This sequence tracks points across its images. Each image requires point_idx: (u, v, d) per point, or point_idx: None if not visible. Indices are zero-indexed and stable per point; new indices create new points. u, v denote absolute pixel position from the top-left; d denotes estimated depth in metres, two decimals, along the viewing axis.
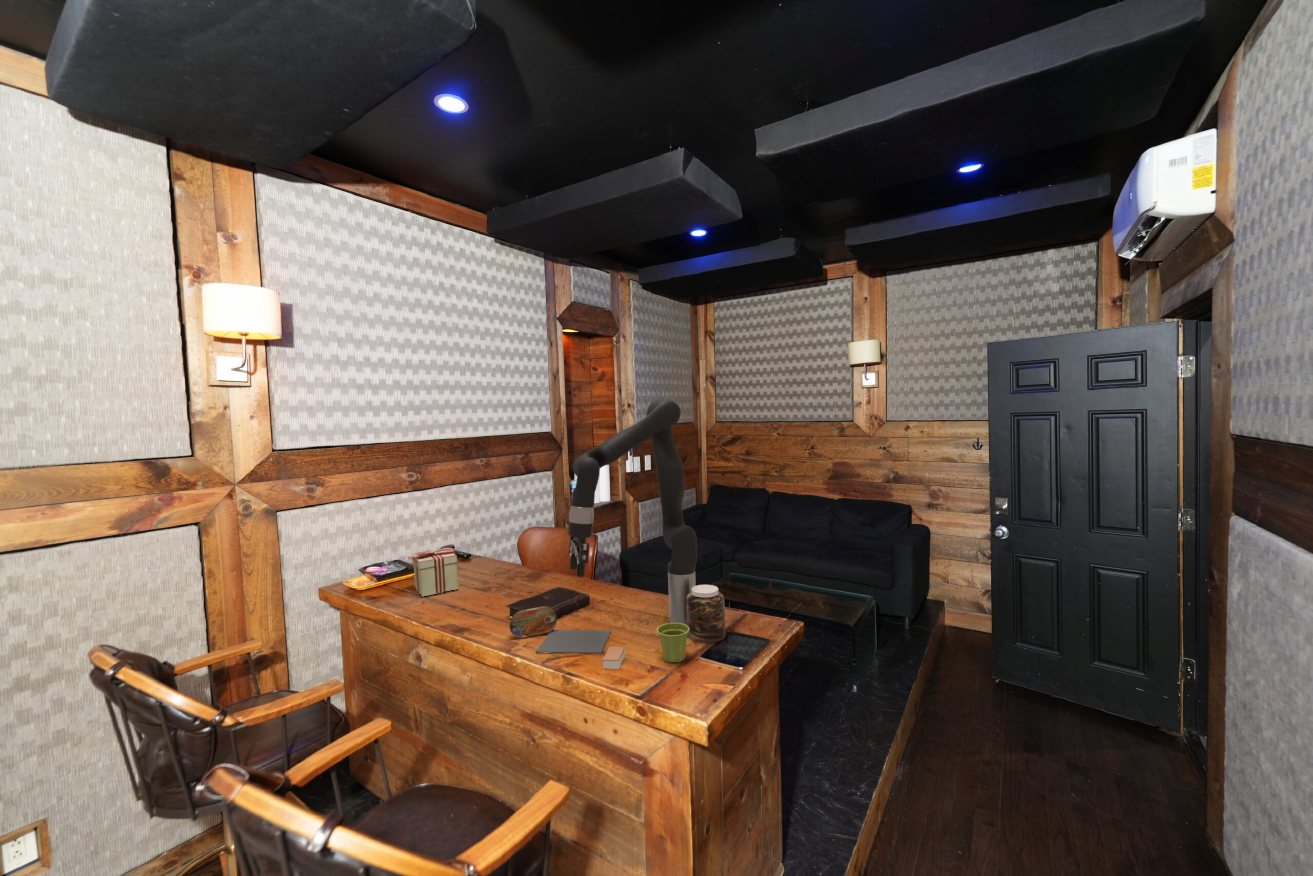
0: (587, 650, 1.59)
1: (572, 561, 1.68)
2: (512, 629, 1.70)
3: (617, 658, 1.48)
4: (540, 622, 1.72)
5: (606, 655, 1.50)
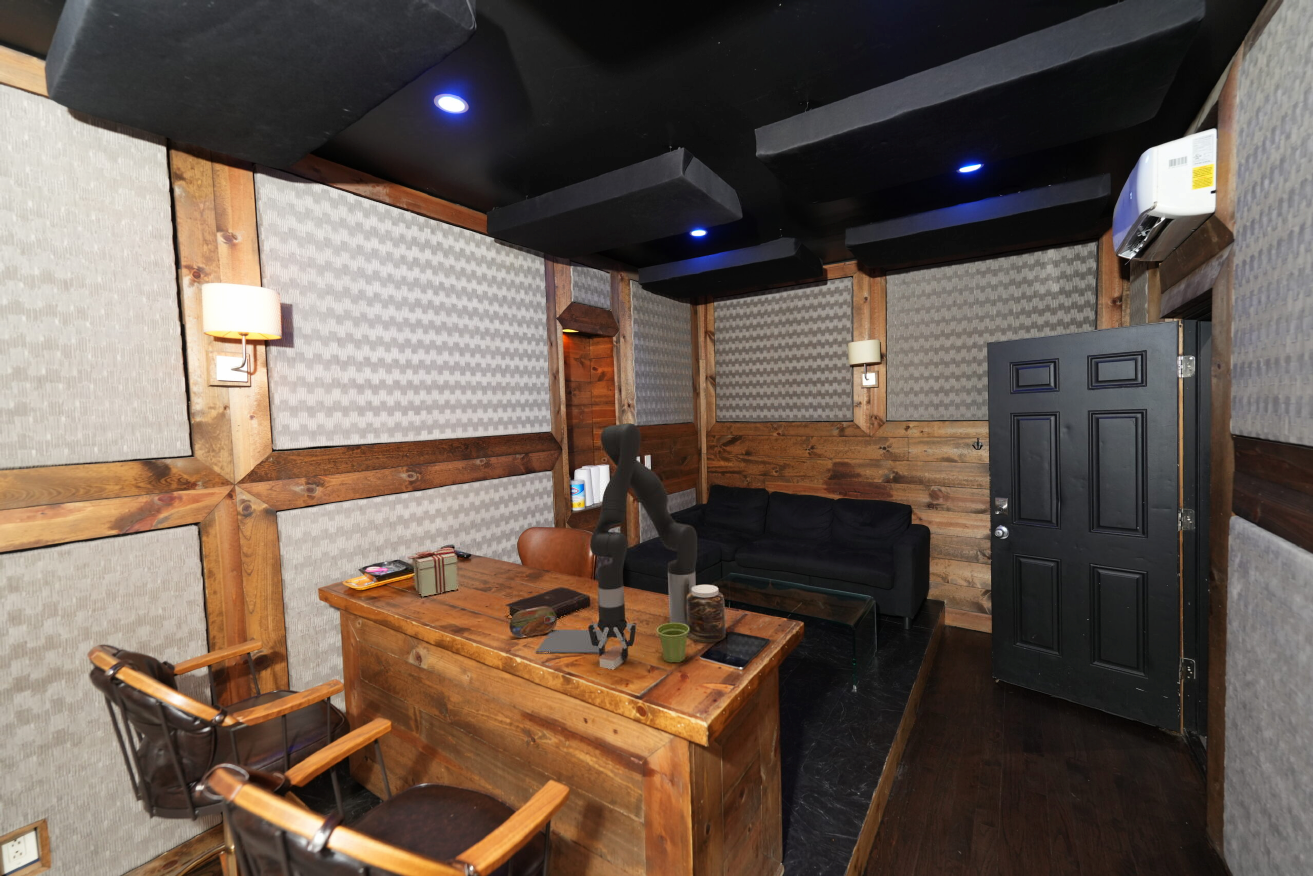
0: (587, 650, 1.59)
1: (603, 651, 1.51)
2: (512, 629, 1.70)
3: (613, 657, 1.48)
4: (540, 622, 1.72)
5: (606, 653, 1.51)
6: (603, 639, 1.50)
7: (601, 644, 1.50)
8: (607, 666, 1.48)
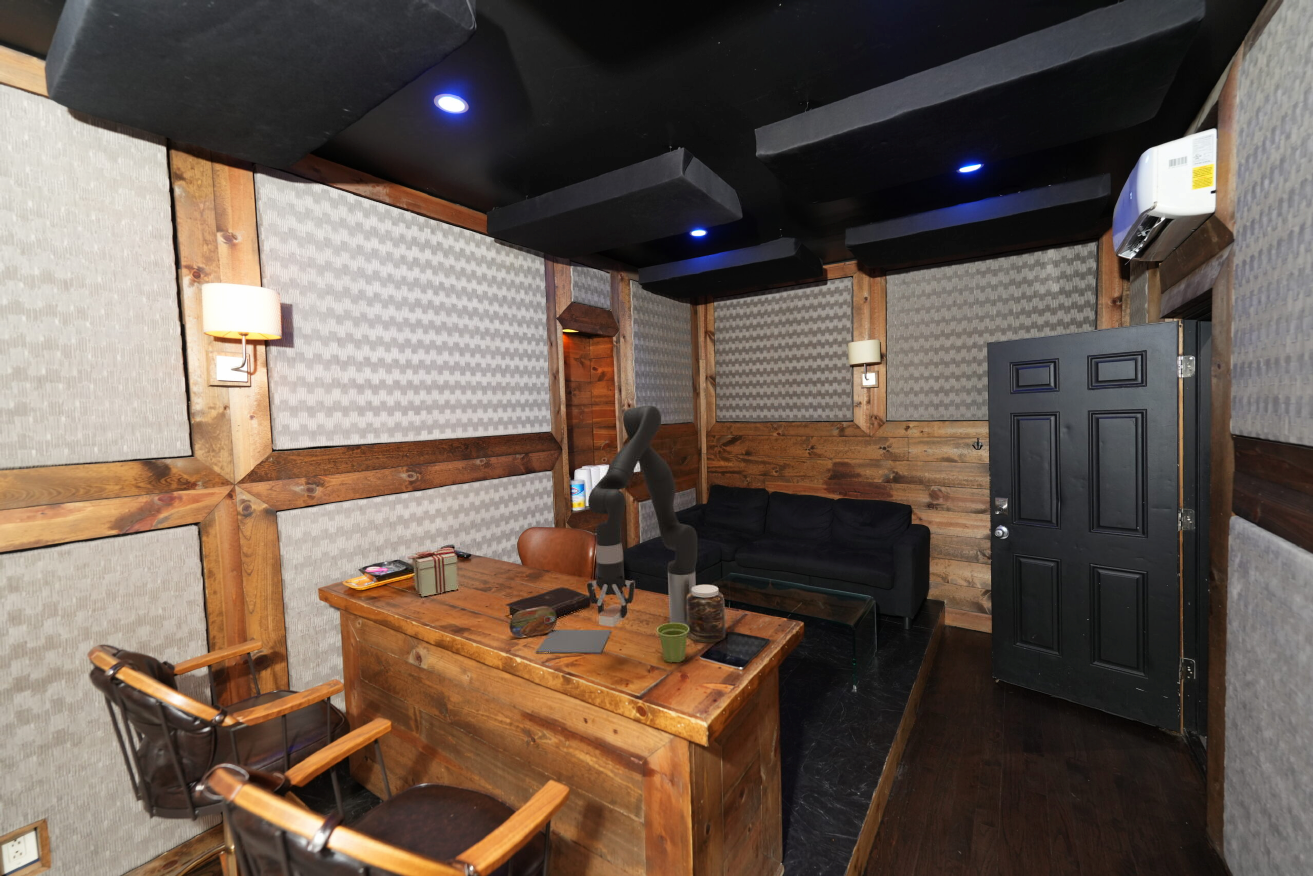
0: (587, 650, 1.59)
1: (602, 609, 1.51)
2: (512, 629, 1.70)
3: (612, 614, 1.47)
4: (540, 622, 1.72)
5: (605, 610, 1.50)
6: (602, 596, 1.49)
7: (600, 601, 1.50)
8: (606, 623, 1.47)
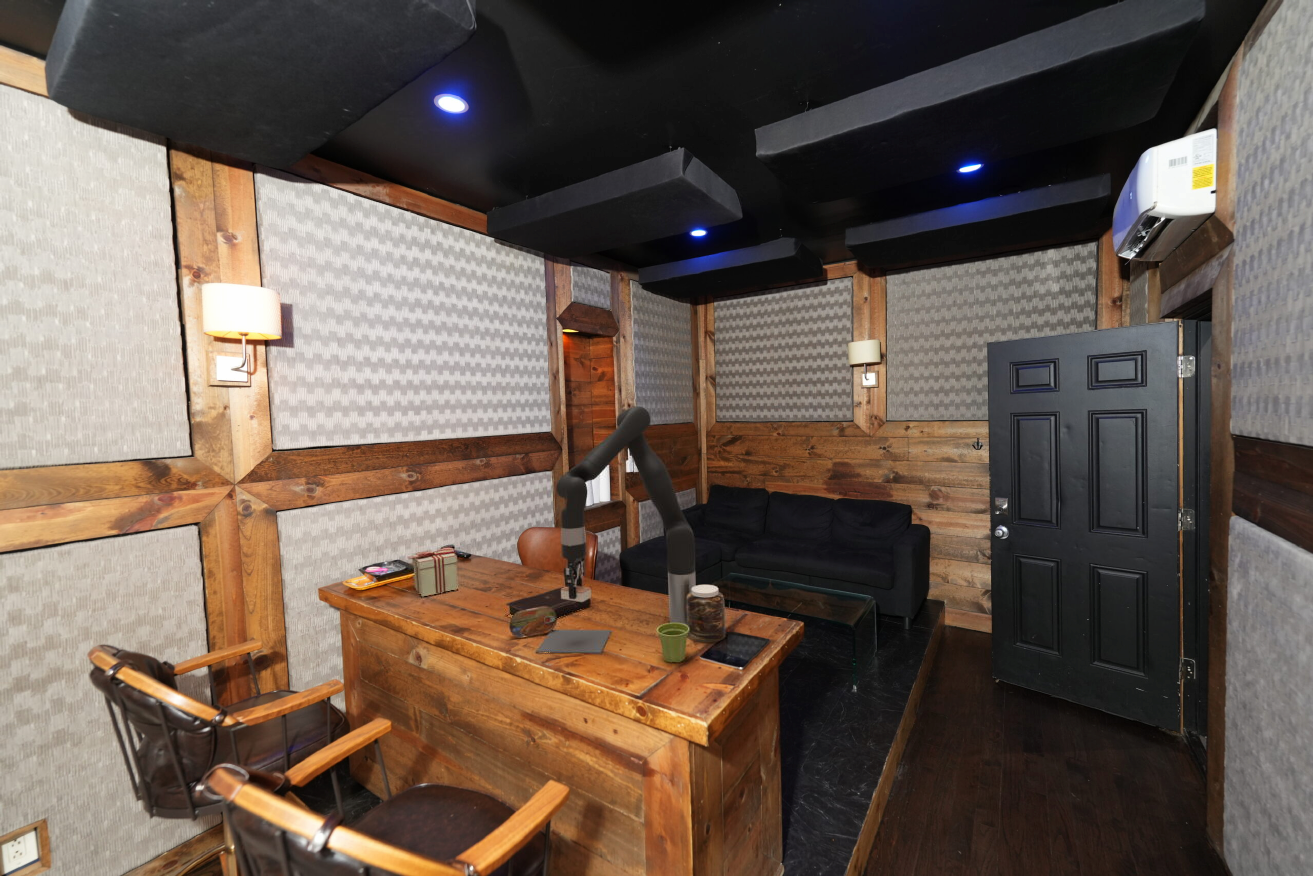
0: (587, 650, 1.59)
1: None
2: (512, 629, 1.70)
3: (586, 587, 1.64)
4: (540, 622, 1.72)
5: None
6: (577, 576, 1.61)
7: (575, 582, 1.60)
8: (587, 597, 1.62)
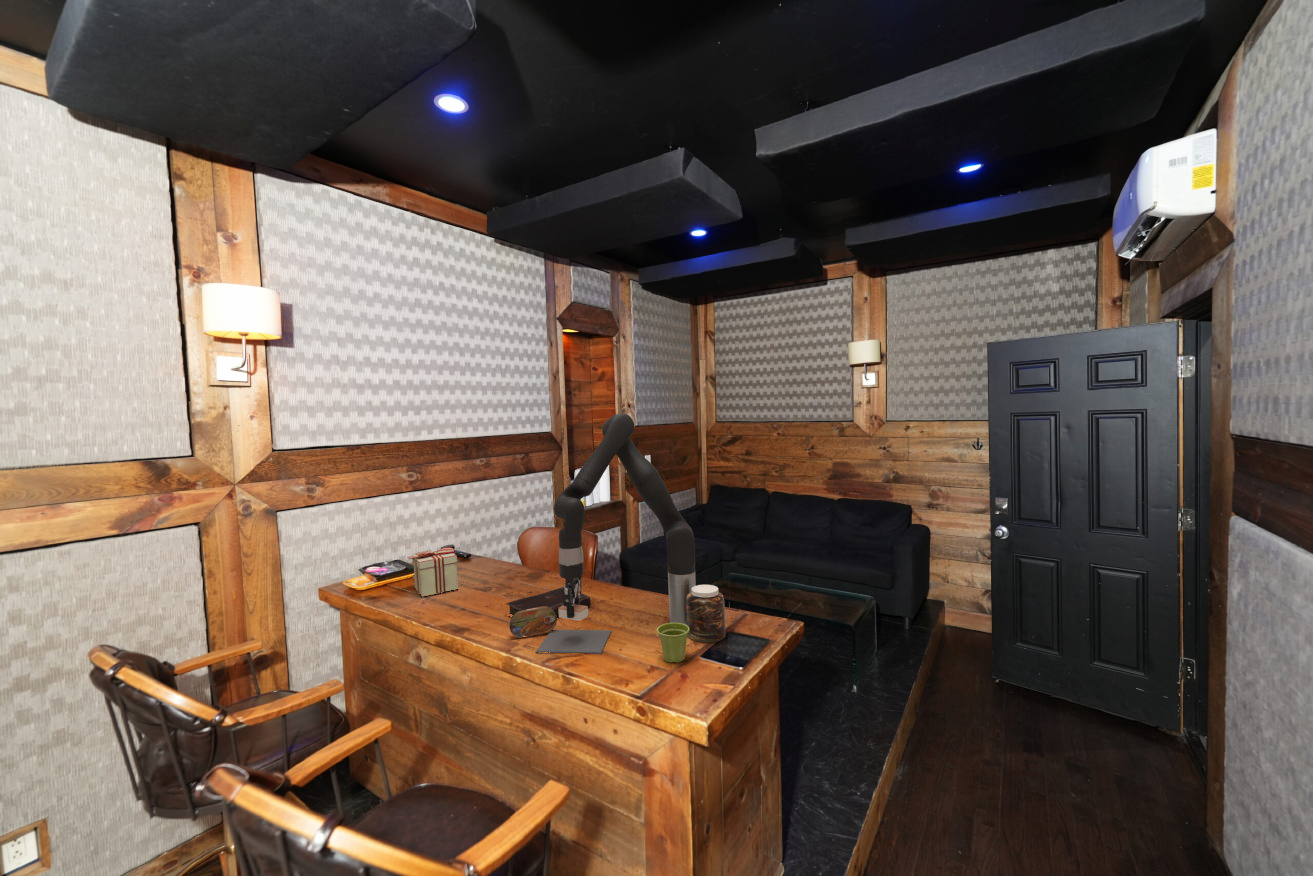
0: (587, 650, 1.59)
1: None
2: (512, 629, 1.70)
3: (584, 606, 1.66)
4: (540, 622, 1.72)
5: None
6: (575, 595, 1.63)
7: (573, 602, 1.63)
8: (584, 615, 1.65)
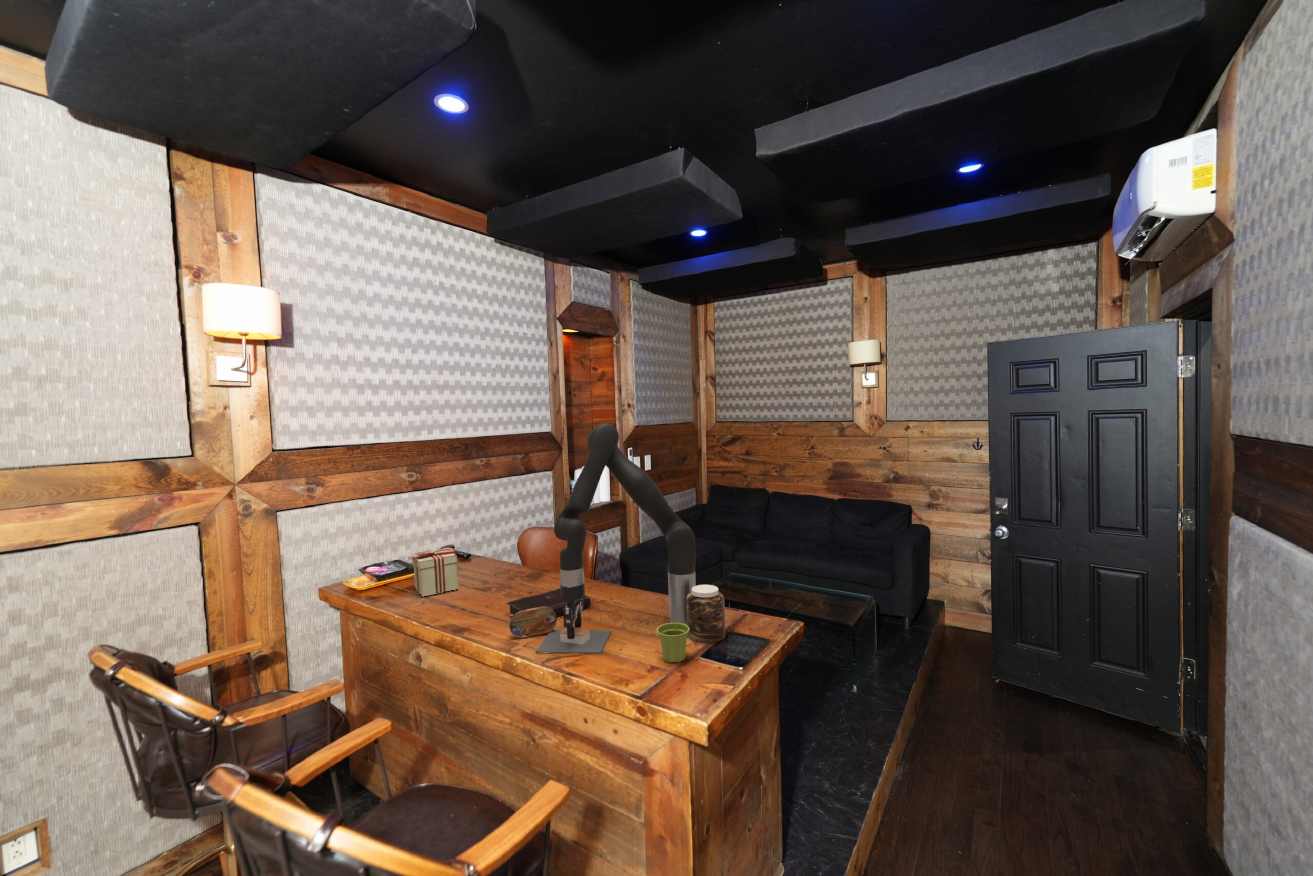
0: (587, 650, 1.59)
1: None
2: (512, 629, 1.70)
3: (585, 629, 1.67)
4: (540, 622, 1.72)
5: (575, 633, 1.64)
6: (576, 617, 1.63)
7: (574, 622, 1.61)
8: (586, 639, 1.65)
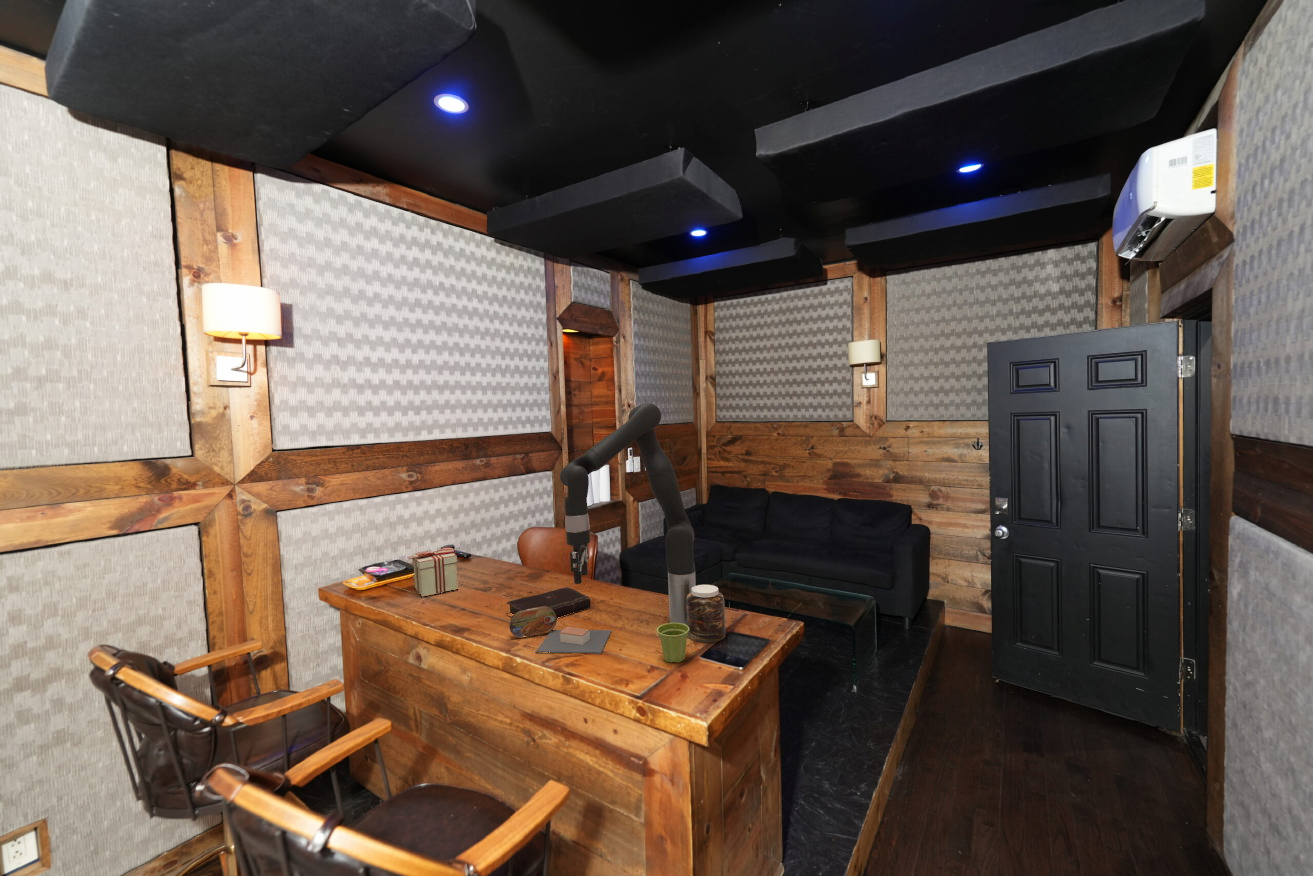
0: (587, 650, 1.59)
1: None
2: (512, 629, 1.70)
3: (585, 629, 1.67)
4: (540, 622, 1.72)
5: (575, 633, 1.64)
6: (583, 562, 1.64)
7: (580, 567, 1.63)
8: (586, 639, 1.65)
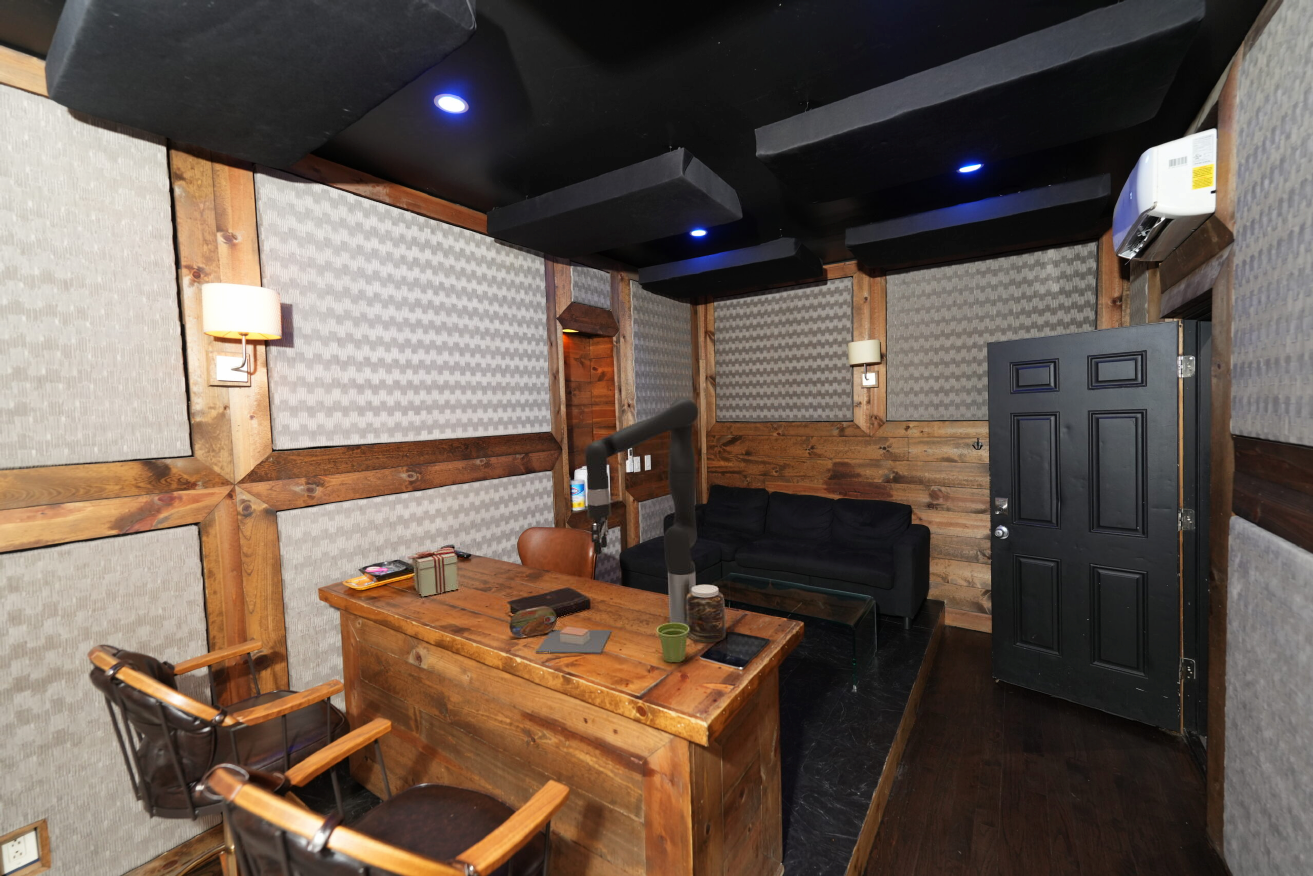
0: (587, 650, 1.59)
1: None
2: (512, 629, 1.70)
3: (585, 629, 1.67)
4: (540, 622, 1.72)
5: (575, 633, 1.64)
6: (603, 534, 1.72)
7: (600, 539, 1.70)
8: (586, 639, 1.65)
